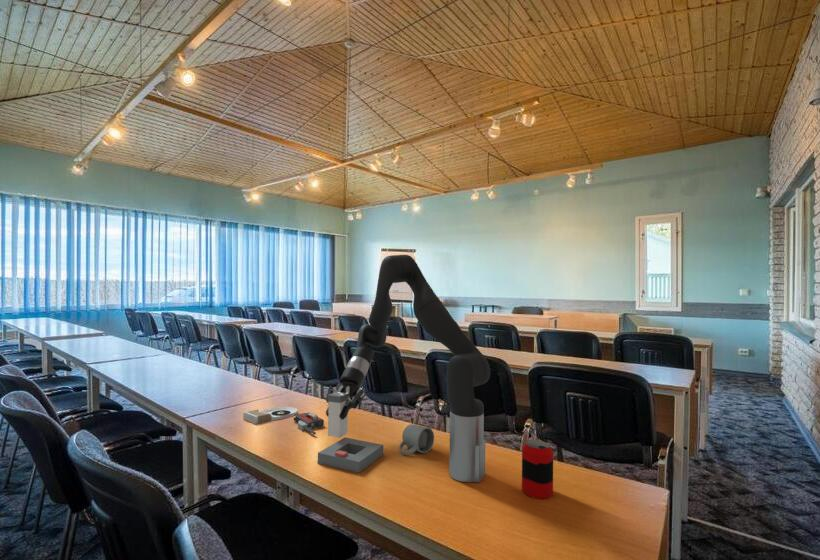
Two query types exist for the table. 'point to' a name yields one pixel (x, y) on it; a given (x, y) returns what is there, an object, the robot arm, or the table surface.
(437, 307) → the robot arm
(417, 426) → the ceramic mug
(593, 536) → the table surface
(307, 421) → the walkie-talkie
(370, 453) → the socket
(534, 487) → the soda can
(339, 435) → the plug
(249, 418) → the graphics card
